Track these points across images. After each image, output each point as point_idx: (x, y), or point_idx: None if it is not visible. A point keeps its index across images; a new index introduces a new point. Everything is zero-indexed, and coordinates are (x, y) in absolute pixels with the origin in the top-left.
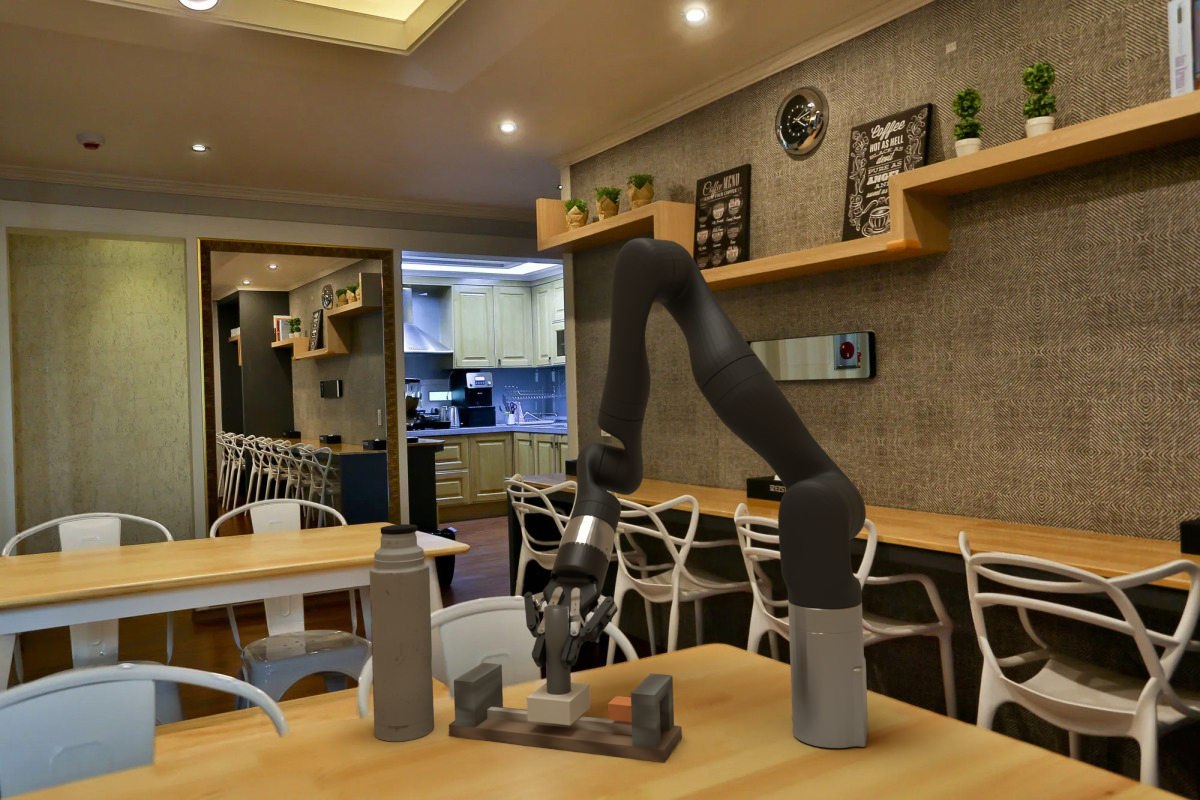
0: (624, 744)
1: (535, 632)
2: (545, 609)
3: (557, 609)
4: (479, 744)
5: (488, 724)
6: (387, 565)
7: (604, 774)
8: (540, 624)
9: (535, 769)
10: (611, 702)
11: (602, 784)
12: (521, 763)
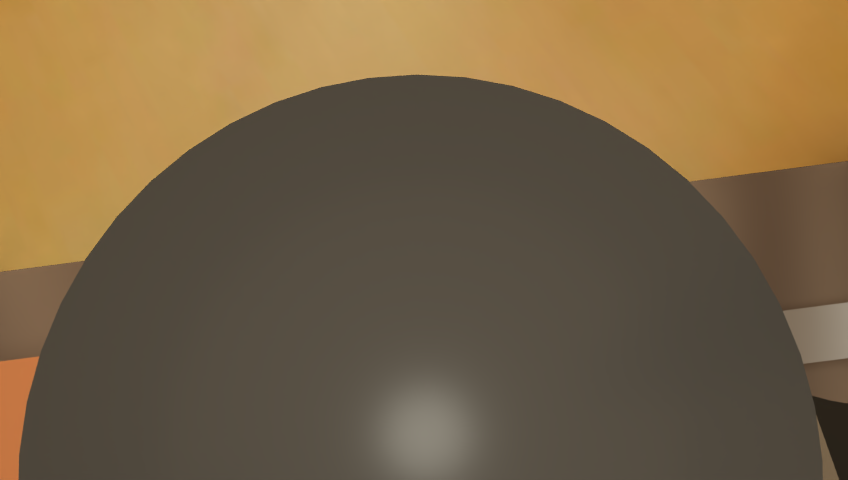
0: (6, 282)
1: (831, 406)
2: (615, 137)
3: (226, 209)
4: (756, 134)
5: (812, 228)
6: None
7: (52, 91)
8: (824, 472)
9: (351, 15)
10: (26, 383)
11: (23, 8)
12: (442, 40)
